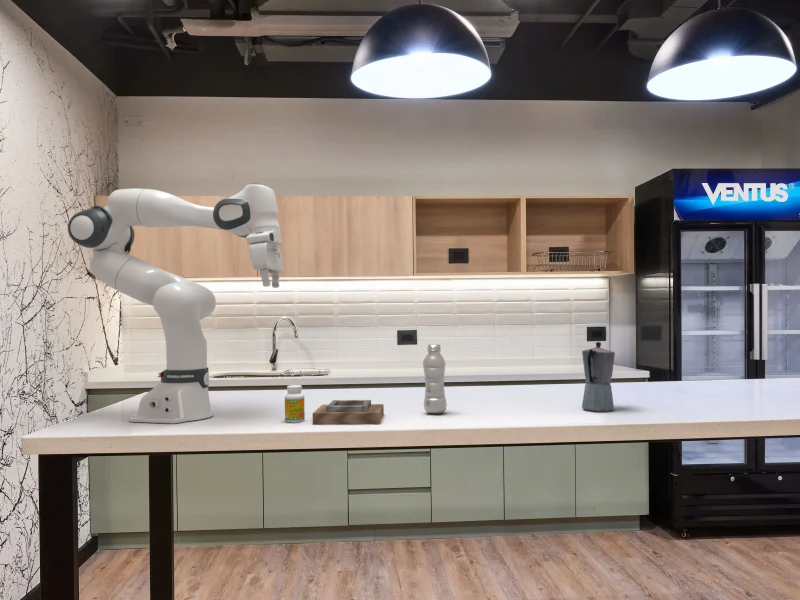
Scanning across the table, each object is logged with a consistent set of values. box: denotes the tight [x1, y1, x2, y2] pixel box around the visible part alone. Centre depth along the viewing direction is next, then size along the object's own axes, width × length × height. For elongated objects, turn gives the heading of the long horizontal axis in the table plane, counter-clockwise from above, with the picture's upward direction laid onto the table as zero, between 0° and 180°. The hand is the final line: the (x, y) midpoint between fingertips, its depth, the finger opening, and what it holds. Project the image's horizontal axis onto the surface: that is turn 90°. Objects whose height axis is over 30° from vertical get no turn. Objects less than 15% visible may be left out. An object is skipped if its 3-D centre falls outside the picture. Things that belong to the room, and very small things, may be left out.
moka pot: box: [581, 341, 616, 412], centre depth 167 cm, size 10×15×20 cm, turn 148°
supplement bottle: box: [284, 384, 306, 424], centre depth 157 cm, size 5×5×10 cm
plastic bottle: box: [422, 344, 448, 415], centre depth 165 cm, size 6×7×20 cm
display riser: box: [312, 399, 385, 425], centre depth 158 cm, size 18×14×4 cm
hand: (271, 287), depth 163 cm, fingers open, 8 cm apart
